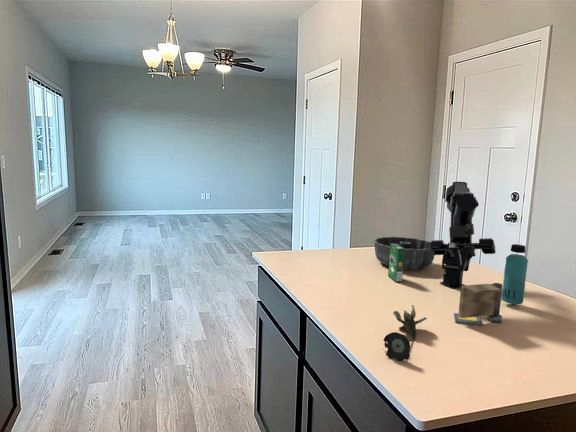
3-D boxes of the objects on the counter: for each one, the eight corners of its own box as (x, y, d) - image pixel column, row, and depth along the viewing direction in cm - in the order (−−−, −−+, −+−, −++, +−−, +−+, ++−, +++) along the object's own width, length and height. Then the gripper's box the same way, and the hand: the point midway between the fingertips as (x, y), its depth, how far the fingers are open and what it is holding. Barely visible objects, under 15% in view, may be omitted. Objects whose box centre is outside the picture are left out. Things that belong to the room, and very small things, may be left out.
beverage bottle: (521, 303, 142) (528, 243, 139) (524, 310, 136) (532, 248, 132) (499, 300, 144) (505, 241, 141) (501, 307, 138) (508, 245, 134)
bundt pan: (386, 254, 204) (388, 233, 203) (443, 264, 189) (445, 241, 187) (361, 265, 183) (363, 242, 181) (423, 277, 168) (425, 252, 166)
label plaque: (479, 318, 128) (479, 315, 128) (481, 326, 122) (482, 323, 122) (453, 315, 130) (454, 312, 130) (455, 322, 124) (455, 320, 124)
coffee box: (402, 282, 161) (405, 248, 159) (395, 282, 160) (397, 248, 158) (394, 276, 169) (397, 243, 167) (387, 276, 168) (389, 243, 166)
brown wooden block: (495, 312, 128) (498, 280, 126) (512, 321, 121) (516, 288, 120) (456, 315, 124) (459, 283, 123) (473, 325, 118) (476, 291, 116)
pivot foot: (492, 317, 129) (493, 311, 129) (504, 321, 126) (505, 316, 126) (483, 319, 128) (483, 313, 127) (495, 324, 124) (496, 318, 124)
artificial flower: (375, 361, 103) (368, 319, 104) (405, 339, 122) (399, 303, 123) (411, 361, 99) (404, 317, 99) (437, 338, 117) (430, 301, 118)
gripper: (426, 216, 139) (423, 261, 132) (490, 212, 130) (491, 260, 123) (434, 233, 147) (432, 275, 140) (495, 230, 138) (496, 275, 131)
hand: (461, 271), depth 133 cm, fingers closed
